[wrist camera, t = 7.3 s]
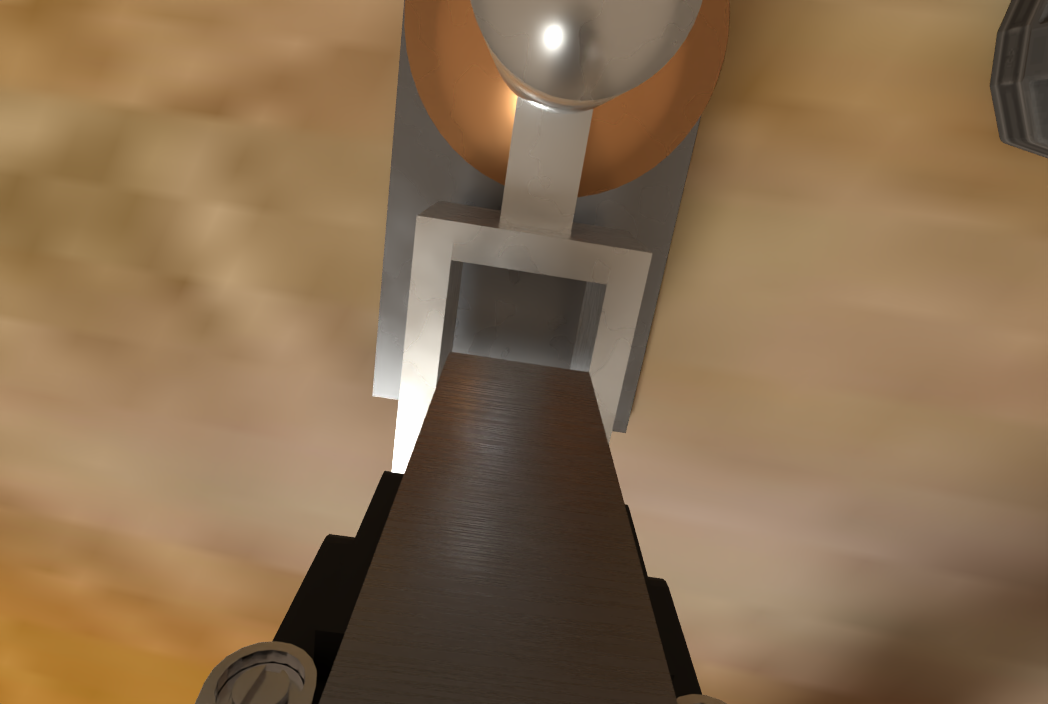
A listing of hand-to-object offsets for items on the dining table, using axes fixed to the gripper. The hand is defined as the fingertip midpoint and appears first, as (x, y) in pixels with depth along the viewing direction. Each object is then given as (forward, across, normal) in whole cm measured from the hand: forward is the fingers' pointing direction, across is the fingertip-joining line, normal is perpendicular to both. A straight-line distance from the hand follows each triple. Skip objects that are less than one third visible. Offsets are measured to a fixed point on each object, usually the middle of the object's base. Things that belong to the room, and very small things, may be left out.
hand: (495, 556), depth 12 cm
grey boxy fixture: (+19, 0, -5) cm, 20 cm away
